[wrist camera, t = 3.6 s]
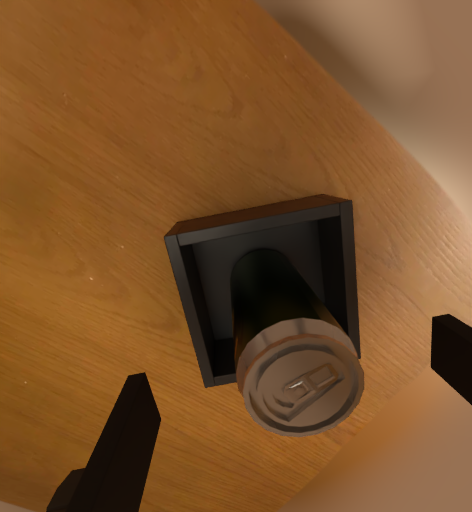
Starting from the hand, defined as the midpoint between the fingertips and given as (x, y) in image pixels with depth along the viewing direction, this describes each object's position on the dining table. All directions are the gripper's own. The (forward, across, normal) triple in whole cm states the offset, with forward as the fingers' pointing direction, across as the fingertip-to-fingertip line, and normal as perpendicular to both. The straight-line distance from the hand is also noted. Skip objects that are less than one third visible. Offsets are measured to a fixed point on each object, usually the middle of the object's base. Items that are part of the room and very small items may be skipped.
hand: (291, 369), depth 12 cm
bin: (+11, 0, 0) cm, 11 cm away
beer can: (+11, 0, 0) cm, 11 cm away
